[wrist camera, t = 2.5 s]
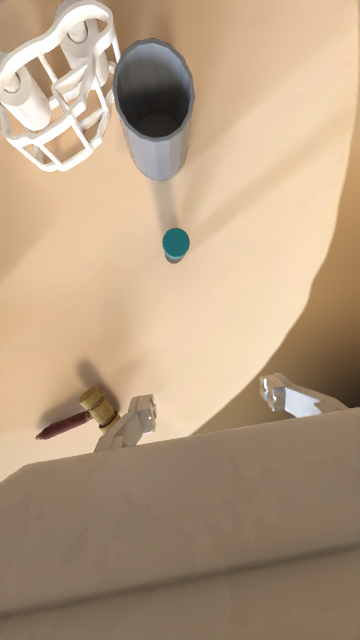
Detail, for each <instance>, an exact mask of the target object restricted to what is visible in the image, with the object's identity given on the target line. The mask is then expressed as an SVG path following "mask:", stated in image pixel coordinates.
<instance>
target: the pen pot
mask: <svg viewBox="0 0 360 640" xmlns="http://www.w3.org/2000/svg"><path fill="white" fill-rule="evenodd" d="M112 90H113V95H114V100H115V105H116V109H117V113H118V116H119V119H120V122H121V125H122V129H123V132H124V135H125V138H126V141H127V144H128V148H129V151H130V154H131V157H132V159H133V161H134V163H135V165H136V167H137V168H138V169H139V170H140V172H141V173H143V174H144V175H145V176H146V177H148V178H150V179H153V180H158V181H162V180H167V179H170V178H172V177H173V176H175V175H176V174H177V173H178V172H179V171H180V169H181V168H182V166H183V164H184V162H185V159H186V153H187V148H188V141H189V134H190V127H191V119H192V112H193V105H194V98H195V95H194V87H193V79H192V75H191V73H190V71H189V68H188V66H187V64H186V62H185V60H184V58H183V57H182V56H181V55H180V54H179V53H178V52H177V51H176V50H175V49H174V48H173V47H172V46H171V45H170V44H169V43H166V42H163V41H160V40H157V39H155V38H150V39H144V40H138V41H136V42H135V43H133V44H132V45H131V46H130V47H128V48H127V49H126V50H125V51H124V52H123V53H122V55H121V57H120V59H119V61H118V63H117V65H116V67H115V70H114V79H113V89H112Z"/></svg>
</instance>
